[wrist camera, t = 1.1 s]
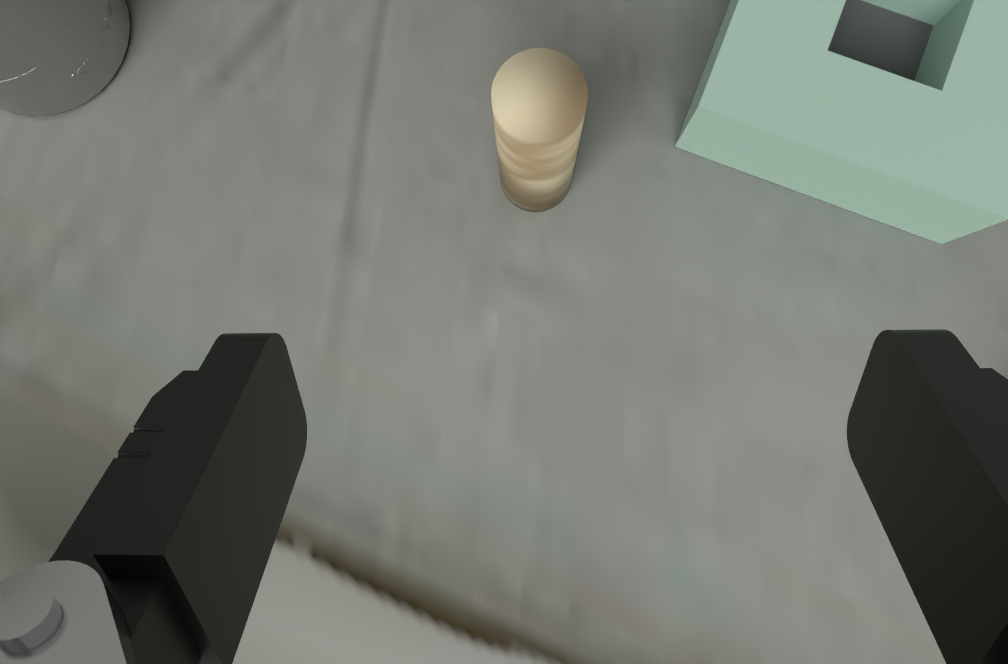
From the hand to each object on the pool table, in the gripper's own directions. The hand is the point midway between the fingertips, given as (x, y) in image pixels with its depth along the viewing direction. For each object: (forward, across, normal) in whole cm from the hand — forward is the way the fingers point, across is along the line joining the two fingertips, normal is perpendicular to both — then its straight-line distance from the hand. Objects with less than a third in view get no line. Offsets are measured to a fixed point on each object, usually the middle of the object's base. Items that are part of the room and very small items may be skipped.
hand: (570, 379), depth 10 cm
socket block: (+30, -16, +6) cm, 34 cm away
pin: (+26, +1, +9) cm, 28 cm away
